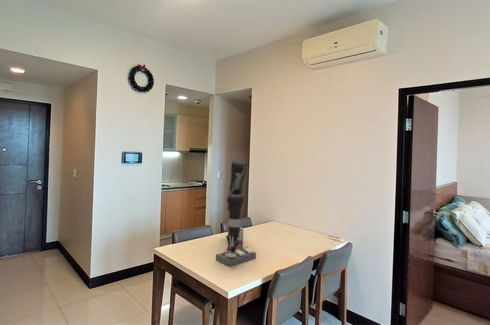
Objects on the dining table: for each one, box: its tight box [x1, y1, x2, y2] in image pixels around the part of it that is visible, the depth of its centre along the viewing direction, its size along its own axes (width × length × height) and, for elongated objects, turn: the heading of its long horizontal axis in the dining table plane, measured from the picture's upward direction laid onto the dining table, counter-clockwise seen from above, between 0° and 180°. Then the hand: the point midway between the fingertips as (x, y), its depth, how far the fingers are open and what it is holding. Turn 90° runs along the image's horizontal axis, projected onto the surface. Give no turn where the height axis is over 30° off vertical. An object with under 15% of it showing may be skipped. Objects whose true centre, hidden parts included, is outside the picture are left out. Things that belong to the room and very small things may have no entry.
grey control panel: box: [215, 247, 257, 268], centre depth 186 cm, size 14×24×4 cm, turn 134°
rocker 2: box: [235, 249, 245, 256], centre depth 184 cm, size 6×4×2 cm, turn 44°
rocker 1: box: [225, 253, 236, 257], centre depth 179 cm, size 6×4×2 cm, turn 44°
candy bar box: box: [226, 227, 244, 251], centre depth 205 cm, size 11×5×16 cm, turn 101°
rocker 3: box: [243, 246, 254, 254], centre depth 190 cm, size 6×4×2 cm, turn 44°
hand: (233, 252), depth 177 cm, fingers closed
